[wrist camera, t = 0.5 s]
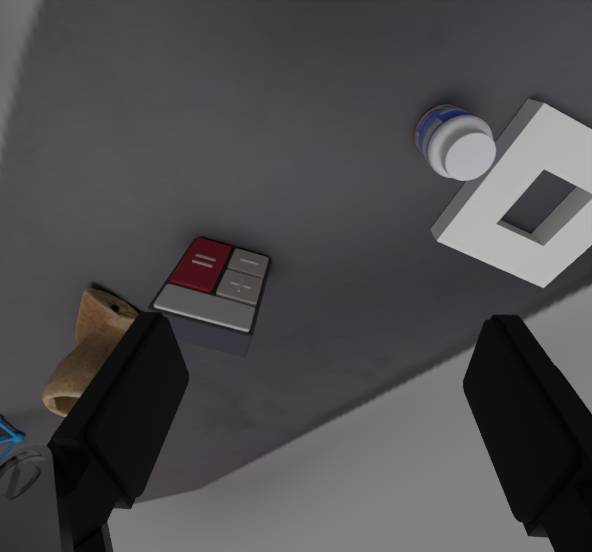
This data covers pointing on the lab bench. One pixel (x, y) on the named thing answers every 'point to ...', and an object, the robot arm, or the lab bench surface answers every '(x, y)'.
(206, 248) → the calculator
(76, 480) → the robot arm
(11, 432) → the molecular structure
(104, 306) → the tan hollow piece
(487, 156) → the pill bottle
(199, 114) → the lab bench surface
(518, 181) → the white square frame
